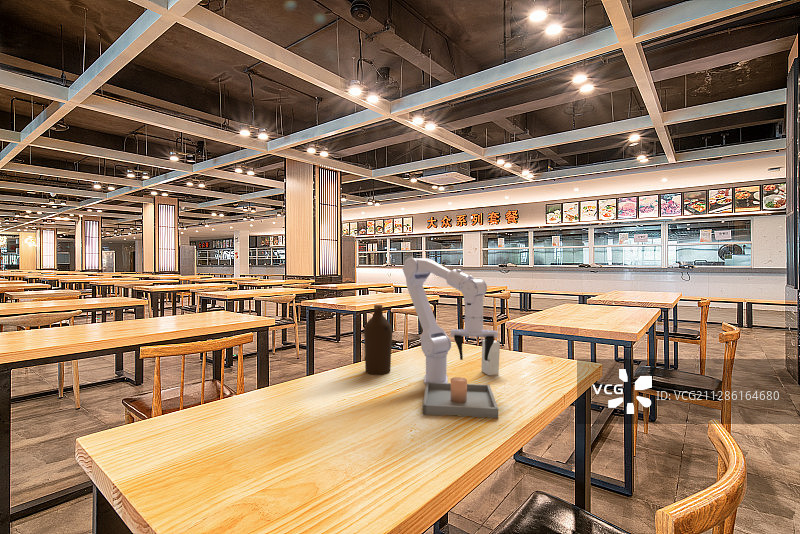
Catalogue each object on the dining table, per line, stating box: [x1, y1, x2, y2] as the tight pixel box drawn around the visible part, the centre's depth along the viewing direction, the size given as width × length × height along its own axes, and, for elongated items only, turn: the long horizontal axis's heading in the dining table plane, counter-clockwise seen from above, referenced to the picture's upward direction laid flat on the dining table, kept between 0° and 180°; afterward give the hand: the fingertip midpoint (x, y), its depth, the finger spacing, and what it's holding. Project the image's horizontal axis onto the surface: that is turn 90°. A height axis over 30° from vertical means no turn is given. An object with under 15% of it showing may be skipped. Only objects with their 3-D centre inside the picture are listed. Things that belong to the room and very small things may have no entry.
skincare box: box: [480, 339, 501, 376], centre depth 144 cm, size 6×4×12 cm
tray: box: [422, 382, 499, 419], centre depth 114 cm, size 20×20×2 cm
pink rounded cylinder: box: [450, 376, 468, 403], centre depth 113 cm, size 5×5×6 cm
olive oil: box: [363, 304, 393, 376], centre depth 145 cm, size 11×11×25 cm
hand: (473, 359), depth 123 cm, fingers open, 7 cm apart
